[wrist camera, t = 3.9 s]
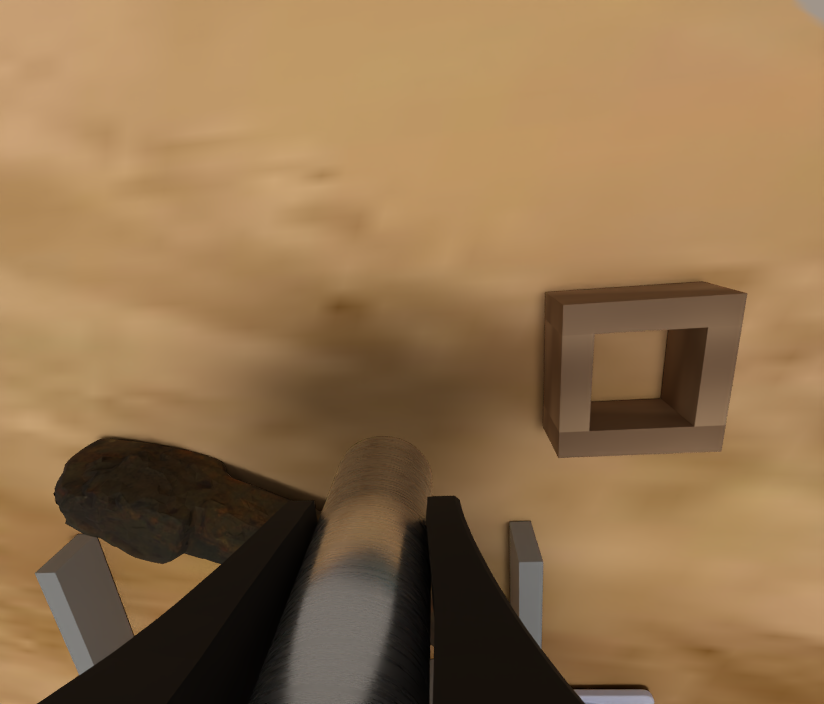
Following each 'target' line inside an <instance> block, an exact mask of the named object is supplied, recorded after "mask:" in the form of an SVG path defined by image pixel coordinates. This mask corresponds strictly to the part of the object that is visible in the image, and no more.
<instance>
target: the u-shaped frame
mask: <svg viewBox="0 0 824 704" xmlns="http://www.w3.org/2000/svg"><path fill="white" fill-rule="evenodd" d="M509 528H510V604H511V606H512V608H513V609H514V611H515V612H516V614H517V615H518V617H519V618H520V620H521V621H522V623H523V624H524V626H525V627H526V628H527V630H528V631H529V633H530V634H531V635H532V637H533V638H534V640H535V641H536V642H537V644H538V645H539V646H540V648H541V642H542V594H543V560H542V556H541V553H540V550H539V547H538V543H537V540H536V537H535V534H534V530H533V527H532V524H531V521H521V522H509ZM35 575H36V577H37V579H38V582H39V584H40V586H41V588H42V591H43V593H44V595H45V598H46V600H47V602H48V604H49V607H50V609H51V611H52V614H53V616H54V618H55V620H56V623H57V625H58V627H59V630H60V632H61V634H62V636H63V639H64V641H65V643H66V646H67V648H68V650H69V652H70V655H71V657H72V659H73V662H74V664H75V666H76V668H77V671H78V673H79V675H81V674H82V673H83V672H85V671H86V670H88V669H89V668H91V667H92V666H94V665H95V664H97V663H98V662H100V661H101V660H103V659H104V658H106V657H107V656H108V655H110V654H111V653H113V652H114V651H115V650H117V649H118V648H119V647H121V646H122V645H123V644H125V643H126V642H127V641H129V640H130V639H131V638H133V637H134V636H133V633H132V630H131V628H130V625H129V622H128V620H127V617H126V614H125V611H124V609H123V606H122V603H121V601H120V598H119V595H118V592H117V590H116V587H115V584H114V582H113V579H112V576H111V573H110V571H109V568H108V565H107V563H106V560H105V557H104V555H103V552H102V549H101V546H100V544H99V541H98V538H97V537H92V536H88V535H85V534H78V535H76V536H75V537H74V538H73V539H72V540H71V541H70V542H69V543H68V544H66V545H65V546H64V547H63V548H62V549H61V550H60V551H59V552H58V553H57V554H55V555H54V556H53V557H52V558H51V559H50V560H49V561H48V562H47V563H46V564H44V565H43V566H42V567H41V568H40V569H39V570H38V571H37V572H36V573H35ZM433 672H434V659H430V704H433Z"/></svg>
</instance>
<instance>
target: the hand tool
mask: <svg viewBox="0 0 824 704" xmlns="http://www.w3.org/2000/svg"><path fill="white" fill-rule="evenodd" d="M54 496H55V501H56V504H58V505H59V508H60V511H61V512H62V513H63V515H64V516H65V518H66V523H65V524H67V525H69V526H71V527H73V528H74V529H76V530H78V531H80V532H81V533H83V534H85V535H88V536H92V537H99V538H101V539H103V540H104V541H106V542H107V543H109V544H111V545H112V546H114V547H118V548H119V549H121V550H123V551H124V552H126V553H127V554H129V555H131V556H133V557H135V558H139V559H142V560H146V561H150V562H155V563H160V564H164V563H167V562H170V561H172V560H174V559H175V558H177V557H179V556H180V555H182V554H184V553H185V554H188V555H191V556H194V557H198V558H202V559H207V560H210V561H213V562H216V563H219V564H222V563H223V562H224V561H226V560H227V559H228V558H229V557H230V556H231V555H232V554H233V553H234V552H235V551H236V550H237V549H238V548H239V547H240V546H242V545H243V544H244V543H245V542H246V541H247V540H248V539H249V538H250V537H251V536H252V535H253V534H254V533H255V532H256V531H257V530H258V529H259V528H260V527H262V526H263V525H264V524H265V523H266V522H267V521H268V520H269V519H270V518H271V517H272V516H273V515H274V514H275V513H276V512H277V511H278V510H279V509H280V508H281V507H282V506H284V505H285V504H286V503H287V502H288V501H291V500H289V499H286V498H284V497H281V496H279V495H276V494H273V493H271V492H268V491H266V490H263V489H261V488H258V487H255V486H253V485H250V484H248V483H245V482H242V481H239V480H236V479H234V478H231V477H230V476H229V475H228V474H227V472H226V468H225V466H224V465H223V463H222V462H221V461H219V460H218V459H215V458H213V457H209V456H206V455H203V454H200V453H196V452H192V451H189V450H185V449H179V448H173V447H168V446H162V445H156V444H151V443H143V442H135V441H127V440H116V439H100V440H97V441H95V442H93V443H92V444H90V445H88V446H87V447H85V448H84V449H82V450H81V451H79V452H78V453H77V454H75V455H74V456H73V457H72V458H71V459H70V460H69V461H68V462H67V463H66V464H65V467H64V471H63V474H61V477H60V478H59V480H58V481H57V484H56V487H55V492H54ZM316 515H317V520H319V517H320V515H321V511H318V510H316ZM434 625H435V624H434V613H433V600H432V588H431V624H430V645H432V646H434Z"/></svg>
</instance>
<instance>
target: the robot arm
mask: <svg viewBox="0 0 824 704" xmlns="http://www.w3.org/2000/svg"><path fill="white" fill-rule="evenodd" d="M317 523H318V520H317V515H316V509H315V503H314V500H311V501H288V502H287V503H286V504H285V505H284V506H282V507H281V508H280V509H279V510H278V511H277V512H276V513H275V514H274V515H273V516H272V517H271V518H270V519H269V520H268V521H267V522H266V523H265V524H264V525H263V526H262V527H260V528H259V529H258V530H257V531H256V532H255V533H254V534H253V535H252V536H251V537H250V538H249V539H248V540H247V541H246V542H245V543H244V544H243V545H242V546H240V547H239V548H238V549H237V550H236V551H235V552H234V553H233V554H232V555H231V556H230V557H229V558H228V559H227V560H226V561H224V562H223V563H222V564H221V565H220V566H219V567H218V568H217V569H216V570H214V571H213V572H212V573H211V574H210V575H209V576H207V577H206V578H205V579H204V580H203V581H202V582H201V583H199V584H198V585H197V586H196V587H195V588H194V589H192V590H191V591H190V592H189V593H188V594H187V595H186V596H184V597H183V598H182V599H181V600H180V601H179V602H177V603H176V604H175V605H174V606H173V607H171V608H170V609H169V610H168V611H166V612H165V613H164V614H163V615H161V616H160V617H159V618H158V619H156V620H155V621H154V622H153V623H151V624H150V625H149V626H147V627H146V628H145V629H143V630H142V631H141V632H139V633H138V634H137V635H135V636H134V637H133V638H131V639H130V640H129V641H127V642H126V643H125V644H123V645H122V646H121V647H119V648H118V649H117V650H115V651H114V652H113V653H111V654H110V655H108V656H107V657H106V658H104V659H103V660H101V661H100V662H98V663H97V664H95V665H94V666H92V667H91V668H89V669H88V670H86V671H85V672H83V673H82V674H81V675H79V676H78V677H76V678H75V679H73V680H72V681H70V682H69V683H67V684H66V685H64V686H63V687H61V688H60V689H58V690H57V691H55V692H54V693H52V694H51V695H49V696H48V697H47V698H45V699H44V700H42V701H41V702H39V703H37V704H249V701H250V698H251V696H252V693H253V690H254V688H255V685H256V683H257V680H258V677H259V675H260V672H261V670H262V667H263V664H264V662H265V659H266V656H267V654H268V651H269V649H270V646H271V643H272V641H273V638H274V635H275V633H276V630H277V628H278V625H279V622H280V620H281V617H282V614H283V612H284V609H285V607H286V604H287V601H288V599H289V596H290V593H291V591H292V588H293V586H294V583H295V580H296V578H297V575H298V573H299V570H300V567H301V565H302V562H303V559H304V557H305V554H306V552H307V549H308V546H309V544H310V541H311V538H312V536H313V533H314V531H315V528H316V525H317ZM426 526H427V538H428V551H429V562H430V573H431V588H432V600H433V613H434V624H435V625H434V672H433V704H654V699H653V697H652V694H651V693H650V692H649V691H647V690H644V689H572V687H571V686H570V685H569V684H568V683H567V682H566V680H565V679H564V678H563V677H562V675H561V674H560V673H559V671H558V670H557V669H556V667H555V666H554V665H553V664H552V662H551V661H550V660H549V658H548V657H547V656H546V654H545V653H544V652H543V651H542V649H541V648H540V646H539V645H538V644H537V642H536V641H535V640H534V638H533V637H532V635H531V634H530V633H529V631H528V630H527V628H526V627H525V626H524V624H523V623H522V621H521V620H520V618H519V617H518V615H517V614H516V612H515V611H514V609H513V608H512V606H511V604H510V603H509V601H508V600H507V598H506V596H505V595H504V593H503V592H502V590H501V588H500V587H499V585H498V583H497V582H496V580H495V578H494V577H493V575H492V573H491V571H490V569H489V568H488V566H487V564H486V562H485V560H484V558H483V556H482V554H481V553H480V551H479V549H478V547H477V545H476V543H475V541H474V539H473V536H472V534H471V532H470V529H469V527H468V525H467V522H466V520H465V517H464V514H463V511H462V508H461V504H460V500H459V499H458V498H457V497H456V496H431V497H427V508H426Z"/></svg>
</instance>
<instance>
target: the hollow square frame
mask: <svg viewBox="0 0 824 704" xmlns="http://www.w3.org/2000/svg"><path fill="white" fill-rule="evenodd" d="M746 298H747V293H744V292H740V291H737V290H733V289H729V288H725V287H721V286H718V285H714V284H710V283H706V282H689V283H674V284H659V285H644V286H629V287H614V288H599V289H584V290H569V291H554V292H546V293H545V347H544V402H543V428H544V430H545V432H546V434H547V436H548V438H549V440H550V442H551V444H552V446H553V448H554V450H555V452H556V454H557V456H558V458H568V457H594V456H619V455H644V454H670V453H695V452H721V451H722V445H723V439H724V433H725V426H726V420H727V414H728V408H729V402H730V396H731V390H732V384H733V378H734V371H735V365H736V359H737V353H738V347H739V341H740V335H741V329H742V323H743V317H744V310H745V304H746ZM654 330H668V338H667V347H666V356H665V365H664V374H663V383H662V392H661V399H642V400H621V401H601V402H591V389H592V371H593V353H594V335H595V334H603V333H620V332H637V331H654Z"/></svg>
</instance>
